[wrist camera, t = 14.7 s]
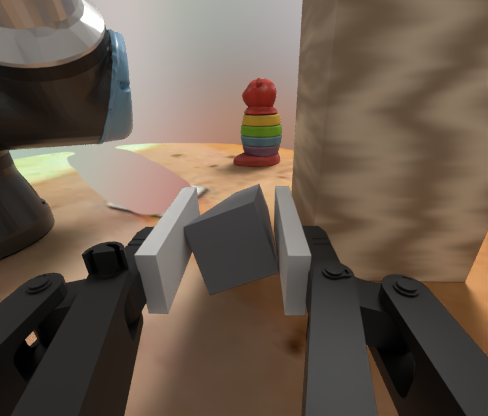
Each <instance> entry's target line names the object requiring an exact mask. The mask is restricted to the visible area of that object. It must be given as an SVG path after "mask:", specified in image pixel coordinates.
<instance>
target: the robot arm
mask: <svg viewBox="0 0 488 416" xmlns="http://www.w3.org/2000/svg"><path fill="white" fill-rule="evenodd" d="M129 84H130V83H129V71H128V62H127V54H126V48H125V42H124V38H123V36H122V35H121V34H120V33H118V32H114V31H112V30H106V27H105V24H104V20H103V17H102V15H101V13H100V11H99V10H98V8H97V7H96V6H95V5H94V4H93V3H92V2H91V1H89V0H0V258H3V257H5V256H8V255H10V254H12V253H14V252H17V251H19V250H21V249H23V248H25V247H26V246H28V245H30V244H32V243H33V242H35V241H37V240H38V239H40V238H41V237H42V236H44V235H45V234H46V233H47V232H48V231H49V230H50V229H51V228H52V226H53V225H54V217H53V214H52V212H51V209H50V207H49V205H48V204H47V203H46V201H45V200H43V199H41V198H40V197H39V196H38V194H37V193H36V191H35V190H34V189H33V188H32V186H31V185H30V184H29V183H28V182H27V180H26V179H25V178H24V177H23V176H22V175H21V174H20V173H19V171H18V170H17V168H16V166H15V164H14V162H13V160H12V158H11V155H10V153H9V150H15V149H29V148H41V147H57V146H72V145H84V144H85V145H86V144H102V143H103V142H108V141H115V140H122V139H125V138H127V137H128V136H129V135H130V134H131V132H132V128H133V118H132V117H133V116H132V101H131V91H130V87H129ZM199 216H200V214H199V205H198V197H197V188H196V187H184V188H183V189H182V190H181V191H180V193H179V194H178V196H177V197H176V198H175V200H174V201H173V202H172V204H171V205H170V206H169V208H168V209H167V211H166V212H165V213H164V215H163V216H162V218H161V219H160V220H159V222H158V223H157V224H156V226H155V227H145V228H144V229H142V230H141V231H139V232H137V234H136V235H135V236H134V237H133V238H132V240H131V241H130V242H129V243H128V246H126V247H125V248H124V246H123V245H122V244H121V243H119V242H105V243H100V244H98V245H95V246H93V247H91V248H89V249H87V250H86V251H85V252H84V253H83V254H82V257H83V259H84V262H85V265H86V268H87V271H88V273H89V275H88V277H87V279H83V280H78V281H73V282H68V283H66V282H65V280H64V277H63V276H62V275H61V274H58V273H48V274H43V275H39V276H36V277H35V278H33V279H31V280H28V281H27V282H26V283H24V284H23V285H21V286H20V287H19V288H17V289H16V290H15V291H14V292H13V293H11V294H10V295H9V296H8V297H7V298H5V299H4V300H3V301H2V302H1V303H0V416H124V414H125V409H126V404H127V400H128V395H129V390H130V385H131V380H132V375H133V370H134V365H135V361H136V356H137V351H138V346H139V341H140V336H141V331H142V327H143V315H142V310H143V308H144V306H145V304H147V308H148V312H149V313H156V314H168V313H169V310H170V308H171V305H172V303H173V300H174V297H175V295H176V292H177V290H178V287H179V285H180V282H181V279H182V277H183V274H184V272H185V269H186V267H187V264H188V261H189V259H190V256H191V254H192V249H191V246H190V244H189V241H188V239H187V236H186V234H185V231H184V228H183V227H184V226H186V225H187V224H189V223H190V222H192V221H193V220H195V219H196V218H198V217H199ZM274 231H275V239H276V247H277V255H278V264H279V272H280V280H281V288H282V296H283V304H284V312H285V315H296V316H305V313H306V307H307V311H308V323H307V332H306V352H305V368H304V383H303V398H302V414H301V416H378V414H377V408H376V402H375V396H374V390H373V384H372V378H371V372H370V366H369V359H368V353H367V347H366V344H367V345H368V347H369V349H370V351H371V353H372V356H373V358H374V360H375V362H376V365H377V367H378V369H379V371H380V374H381V376H382V378H383V380H384V383H385V385H386V387H387V389H388V392H389V394H390V396H391V398H392V401H393V403H394V405H395V407H396V410H397V412H398V414H399V416H488V357H487V356H486V354H485V353H484V352H483V351H482V350H481V349H480V348H479V346H478V345H477V344H476V343H475V342H474V341H473V340H472V338H471V337H470V336H469V335H468V334H467V333H466V331H465V330H464V329H463V328H462V327H461V326H460V325H459V323H458V322H457V321H456V320H455V319H454V318H453V317H452V315H451V314H450V313H449V312H448V311H447V310H446V308H445V307H444V306H443V305H442V304H441V303H440V302H439V300H438V299H437V298H436V297H435V296H434V295H433V293H432V292H431V291H430V290H429V289H428V288H427V287H426V286H425V285H424V284H422V283H421V282H420V281H418V280H416V279H414V278H412V277H409V276H405V275H400V274H390V275H387V276H385V277H384V278H383V279H382V282H381V284H380V283H375V282H371V281H366V280H363V279H359V278H357V277H355V276H354V273H353V271H352V270H351V269H350V268H349V267H347V266H346V265H344V264H342V263H341V262H340V260H339V258H338V256H337V254H336V252H335V250H334V248H333V246H332V245H331V242H330V239H329V237H328V235H327V233H326V231H324V230H323V229H322V228H321V227H319V226H302V225H301V222H300V219H299V216H298V213H297V210H296V207H295V204H294V201H293V198H292V195H291V191H290V188H289V186H275V214H274ZM32 331H33V332H34V333H35V335H36V337H37V340H36V341H35V342H34V343H33V344H32V345H30V346H29V345H28V344H27V343H26V341H25V339H26V338H27V337H28V336H29V335H30V334H31V333H32Z"/></svg>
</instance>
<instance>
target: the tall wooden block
mask: <svg viewBox="0 0 488 416" xmlns="http://www.w3.org/2000/svg"><path fill="white" fill-rule="evenodd" d="M298 74H299V75H298V91H297V108H296V125H295V143H294V160H293V177H292V198H293V201H294V204H295V207H296V210H297V213H298V216H299V219H300V222H301V225H302V226H319V227H321V228H322V229H323V230H324V231H326V233H327V235H328V237H329V239H330V242H331V245H332V246H333V248H334V250H335V252H336V254H337V256H338V258H339V260H340V262H341V263H342V264H344V265H346V266H347V267H349V268H350V269H351V270H352V271H353V273H354V276H355V277H357V278H359V279H363V280H366V281H382V279H383V278H384V277H385V276H387V275H390V274H400V275H405V276H409V277H412V278H414V279H416V280H418V281H438V282H465V281H466V279H467V277H468V274H469V272H470V270H471V268H472V265H473V263H474V261H475V259H476V256H477V254H478V252H479V249H480V247H481V245H482V243H483V240H484V238H485V236H486V234H487V231H488V0H303V4H302V22H301V39H300V56H299V73H298Z"/></svg>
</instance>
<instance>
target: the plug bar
mask: <svg viewBox="0 0 488 416" xmlns="http://www.w3.org/2000/svg"><path fill="white" fill-rule="evenodd" d="M183 228H184V231H185V234H186V236H187V239H188V241H189V244H190V246H191V249H192V251H193V254H194V256H195V259H196V261H197V264H198V266H199V269H200V271H201V274H202V276H203V279H204V282H205V284H206V287H207V289H208V292H209V294H210V295H212V294H215V293H218V292H221V291H224V290H227V289H230V288H234V287H237V286H240V285H243V284H246V283H249V282H252V281H255V280H258V279H261V278H264V277H267V276H270V275H273V274H276V273H279V266H278V260H277V255H276V249H275V244H274V238H273V233H272V227H271V222H270V216H269V211H268V206H267V204H266V201H265V198H264V195H263V193H262V190H261V187H260V184H258V185H255V186H252V187H250V188H247V189H244V190H241V191H239V192H236V193H234V194H233V195H231V196H230V197H228V198H227V199H225V200H224V201H222V202H221V203H219V204H218V205H216V206H214V207H213V208H211V209H210V210H208V211H207V212H205V213H204V214H202V215H201V216H199V217H198V218H196V219H195V220H193V221H192V222H190V223H189V224H187V225H186V226H184V227H183Z"/></svg>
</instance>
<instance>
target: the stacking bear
mask: <svg viewBox="0 0 488 416" xmlns="http://www.w3.org/2000/svg"><path fill="white" fill-rule="evenodd" d="M242 97H243V100H244V102H245V104H246V105H247V106H248V108H247V109H246V110H245V112H244V113H245V115H244V116H243V121H242V126H241V134H242V135H241V140H242V143H243V149H244V153H242V154H240V155H238V156H236V157H235V158H234V163H235V164H236V165H241V166H269V165H274V164H277V163H278V162H279V161H280V156H279V154H278V150H279V147H280V143H281V138H282V135H281V133H282V128H281V124H280V123H281V121H280V116H279V114H277V110H276V109H275V108H273V104H274V102H275V98H276V88H275V85H274V84H273V83H272V82H271V81H269V80H267V79H260V78H258V79H257V80H253V81H252V82H251V83H250V84H249V85H248V87H247V89H246V90H245V91H244V92H243V94H242Z"/></svg>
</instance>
